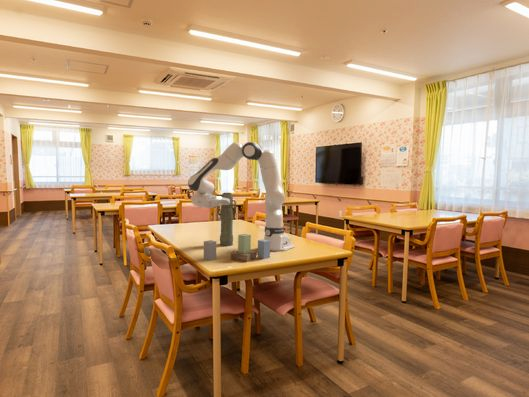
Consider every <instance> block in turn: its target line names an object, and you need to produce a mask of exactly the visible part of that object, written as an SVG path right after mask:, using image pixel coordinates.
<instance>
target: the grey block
mask: <svg viewBox="0 0 529 397" xmlns="http://www.w3.org/2000/svg"><path fill="white" fill-rule="evenodd" d="M203 259H204V260H206V261H214V260H217V241H216V240H212V239H211V240H210V239H209V240H204V241H203Z"/></svg>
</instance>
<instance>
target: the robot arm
mask: <svg viewBox="0 0 529 397" xmlns="http://www.w3.org/2000/svg"><path fill="white" fill-rule="evenodd" d="M242 158H245V159H247V160H250V161H252V160H253V161H257V162H258V165H259V169H260V176H261V179H262V180H261V181H262V182H263V186H264V189H265V194H264V206H265V225H264V226H265V227H264V235H263V237H264V238H263V239H265V240H270V251H274V252H275V251H277V252H278V251H279V252H280V251H281V252H286V251H288V250H291V249H293V248H295V245H294V244H293V243H292V240H291V237H289V235H288V234H286V233H285V231H287V229H288V227H287V226H283V224H284V221H283V218H284V214H283V206H282V205H284V203H285V201H286V194H285V190H284V186H283V184H282V181H281V179H280V174H279V168H278V163H277V159H276V156H275V154H274V152H273V151H272V150H270V149H263V148H262V147H261V145H260V144H259V143H257V142H255V141H248V142H246V143H244V144H242V143H241V142H238V141H234V142H232V143H231V144H230V145H229V146H228V147H227V148H226V149H225V150H224V151H223V152H222V153H221V154H220V155H219V156H217V157H213V158H211V159H210V160H209V161H208V162H207V163H206V164H205V165H203V167H202V168H200V169H199V170H198V171H197V172H196V173H195V174H193V175H191V176H190V177H189V179H188V181H187V186H188V188H189V190H191V191H194V192H195V193H193V194H192V195H191V197H190V202H191V204H192V205H193V206H194V207H195V206H196V207H199V208H204V209H213V208H216V207H217V208H218V206H219V207H222V205H229V204H230V199H228V198H224V197H222V195H221V196H220V195H215V191H216V188H215V185H214V183H213V182H212V181H209V180H207V179H205V178H206V177H207V176H208V175H210V173H211V172H214V171H215V170H218V171H219V170H221V171H229V170H232V169H233V168H235V167H236V165H237V164H238V163H239V161H240V160H242Z"/></svg>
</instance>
